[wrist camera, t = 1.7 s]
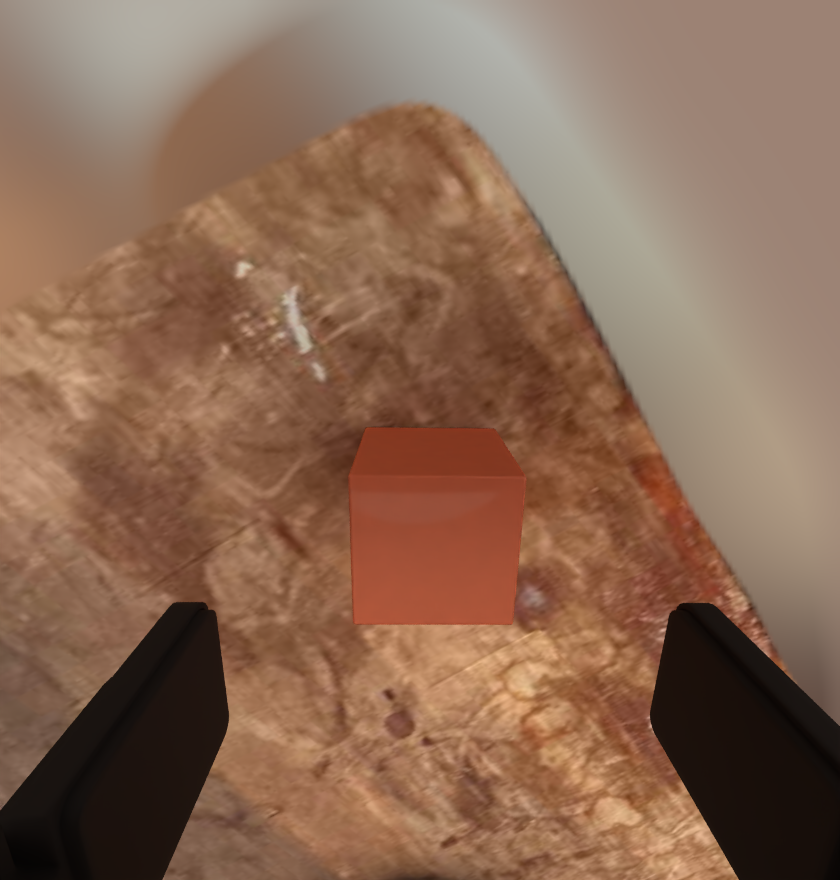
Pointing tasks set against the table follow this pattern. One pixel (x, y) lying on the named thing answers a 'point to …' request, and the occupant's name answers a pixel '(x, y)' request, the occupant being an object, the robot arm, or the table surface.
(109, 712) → the robot arm
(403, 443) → the block coral
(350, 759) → the table surface
